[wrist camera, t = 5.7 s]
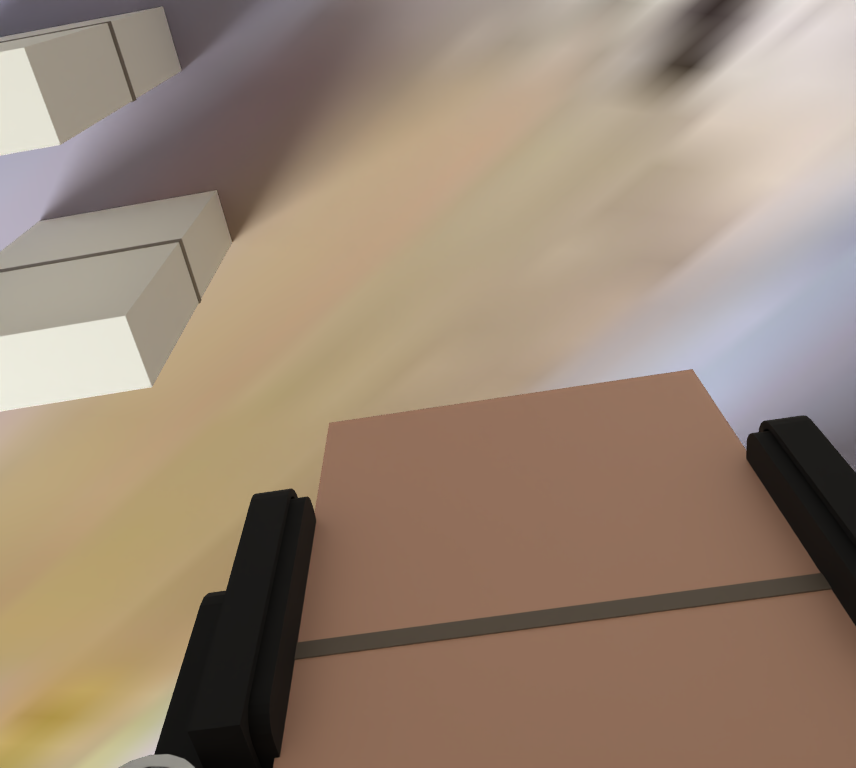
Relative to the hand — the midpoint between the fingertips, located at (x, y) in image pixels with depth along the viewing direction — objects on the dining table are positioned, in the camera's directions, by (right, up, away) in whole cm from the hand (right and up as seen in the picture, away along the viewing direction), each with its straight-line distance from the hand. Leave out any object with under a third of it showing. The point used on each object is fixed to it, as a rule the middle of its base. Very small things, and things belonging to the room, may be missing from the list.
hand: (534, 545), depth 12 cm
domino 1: (-12, +12, +13) cm, 21 cm away
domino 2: (-11, +7, +16) cm, 21 cm away
